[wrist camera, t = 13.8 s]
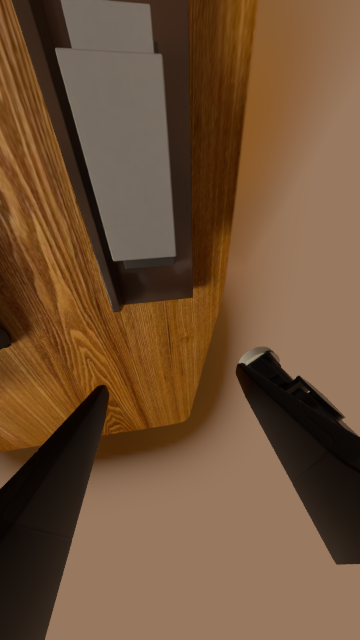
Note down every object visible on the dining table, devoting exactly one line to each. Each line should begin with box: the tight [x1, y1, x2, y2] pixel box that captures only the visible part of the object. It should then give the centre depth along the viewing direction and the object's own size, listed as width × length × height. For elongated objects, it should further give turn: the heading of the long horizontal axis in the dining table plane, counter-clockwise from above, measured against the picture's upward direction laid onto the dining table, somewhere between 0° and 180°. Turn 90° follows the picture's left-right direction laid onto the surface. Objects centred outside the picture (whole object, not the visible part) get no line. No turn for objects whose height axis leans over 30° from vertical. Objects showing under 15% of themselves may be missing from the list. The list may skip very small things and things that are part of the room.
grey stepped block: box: [55, 0, 176, 269], centre depth 9 cm, size 12×5×5 cm, turn 3°
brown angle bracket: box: [12, 0, 193, 312], centre depth 12 cm, size 20×9×4 cm, turn 3°
